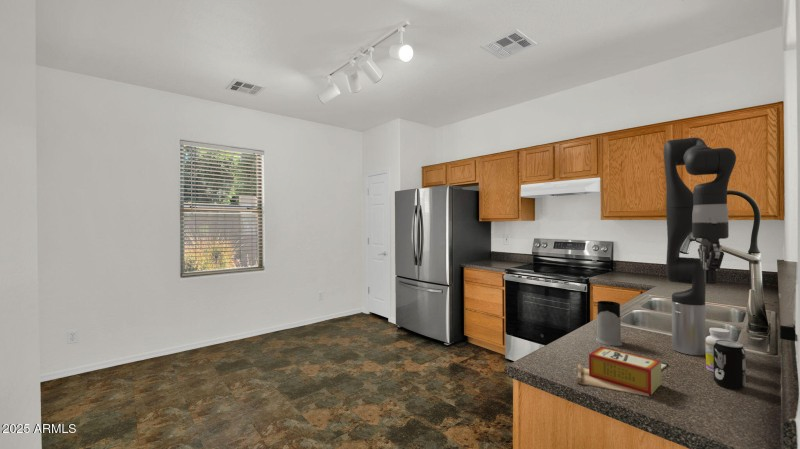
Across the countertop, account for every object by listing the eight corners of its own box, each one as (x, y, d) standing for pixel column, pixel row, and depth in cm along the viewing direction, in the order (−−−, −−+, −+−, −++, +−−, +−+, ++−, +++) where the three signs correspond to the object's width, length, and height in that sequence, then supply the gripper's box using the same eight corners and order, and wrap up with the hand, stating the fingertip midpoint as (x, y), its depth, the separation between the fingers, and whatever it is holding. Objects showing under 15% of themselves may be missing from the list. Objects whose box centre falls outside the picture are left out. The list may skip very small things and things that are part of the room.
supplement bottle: (727, 368, 110) (727, 327, 110) (740, 377, 104) (739, 333, 104) (701, 365, 113) (701, 325, 113) (712, 374, 106) (711, 331, 106)
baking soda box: (651, 370, 94) (587, 353, 106) (651, 394, 94) (587, 375, 106) (661, 361, 100) (600, 346, 112) (661, 384, 100) (600, 366, 112)
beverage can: (707, 380, 102) (707, 339, 102) (728, 379, 103) (727, 338, 103) (730, 391, 96) (730, 347, 95) (752, 390, 96) (752, 346, 96)
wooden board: (577, 368, 112) (577, 362, 112) (642, 378, 104) (642, 372, 104) (577, 383, 101) (577, 377, 101) (649, 396, 94) (649, 389, 94)
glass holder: (594, 342, 135) (593, 303, 135) (599, 333, 146) (599, 297, 146) (621, 347, 130) (620, 306, 130) (624, 337, 141) (624, 299, 141)
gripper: (686, 221, 105) (686, 279, 105) (699, 221, 93) (700, 286, 93) (719, 221, 102) (719, 280, 102) (737, 221, 90) (737, 288, 90)
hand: (710, 283), depth 98 cm, fingers closed
